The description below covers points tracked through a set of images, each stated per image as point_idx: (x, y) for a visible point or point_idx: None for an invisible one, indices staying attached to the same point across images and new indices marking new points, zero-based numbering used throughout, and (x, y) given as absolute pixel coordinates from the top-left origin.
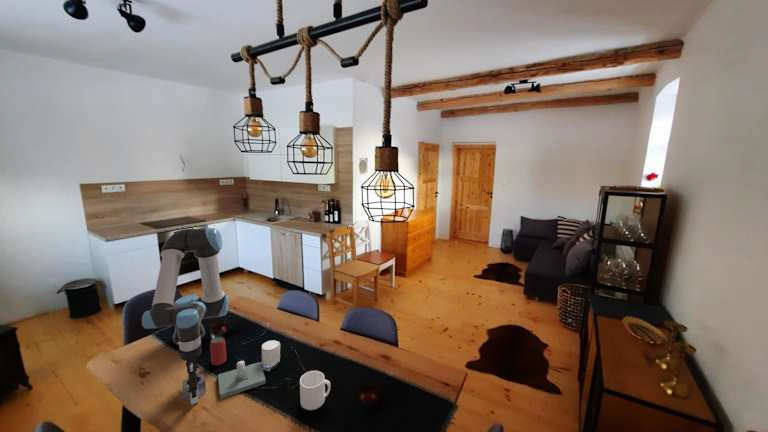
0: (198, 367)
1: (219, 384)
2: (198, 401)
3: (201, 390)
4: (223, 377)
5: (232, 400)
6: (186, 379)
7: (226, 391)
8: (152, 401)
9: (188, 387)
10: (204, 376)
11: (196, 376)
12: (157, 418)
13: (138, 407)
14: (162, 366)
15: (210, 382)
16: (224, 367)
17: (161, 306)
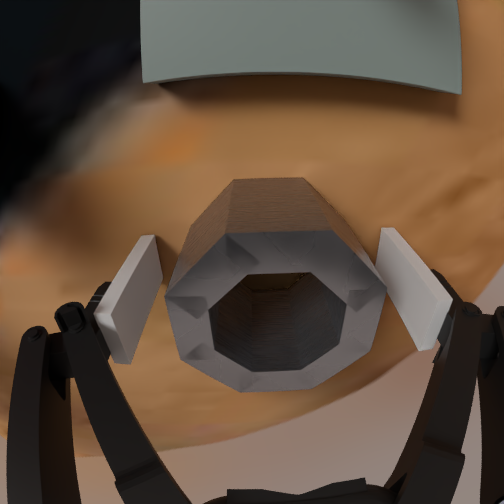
0: (77, 307)
1: (326, 68)
2: (395, 231)
3: (345, 226)
4: (221, 27)
5: (482, 35)
6: (221, 374)
7: (450, 42)
8: (228, 408)
9: (358, 354)
10: (260, 235)
11: (208, 310)
12: (365, 381)
13: (243, 431)
14: (6, 371)
15: (182, 145)
16: (34, 62)
17: None
